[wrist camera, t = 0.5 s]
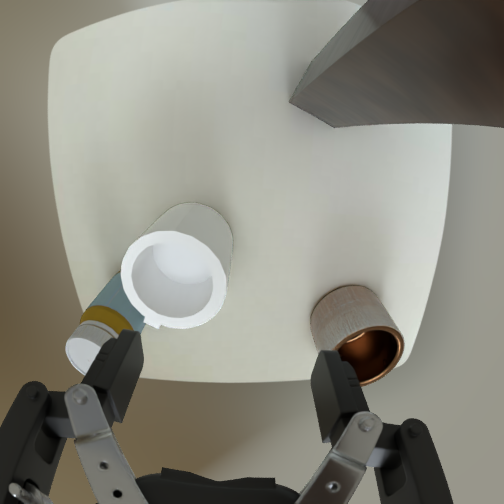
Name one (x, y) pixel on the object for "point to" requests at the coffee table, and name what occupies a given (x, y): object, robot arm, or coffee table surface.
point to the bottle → (102, 324)
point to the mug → (180, 267)
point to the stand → (411, 66)
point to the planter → (358, 332)
